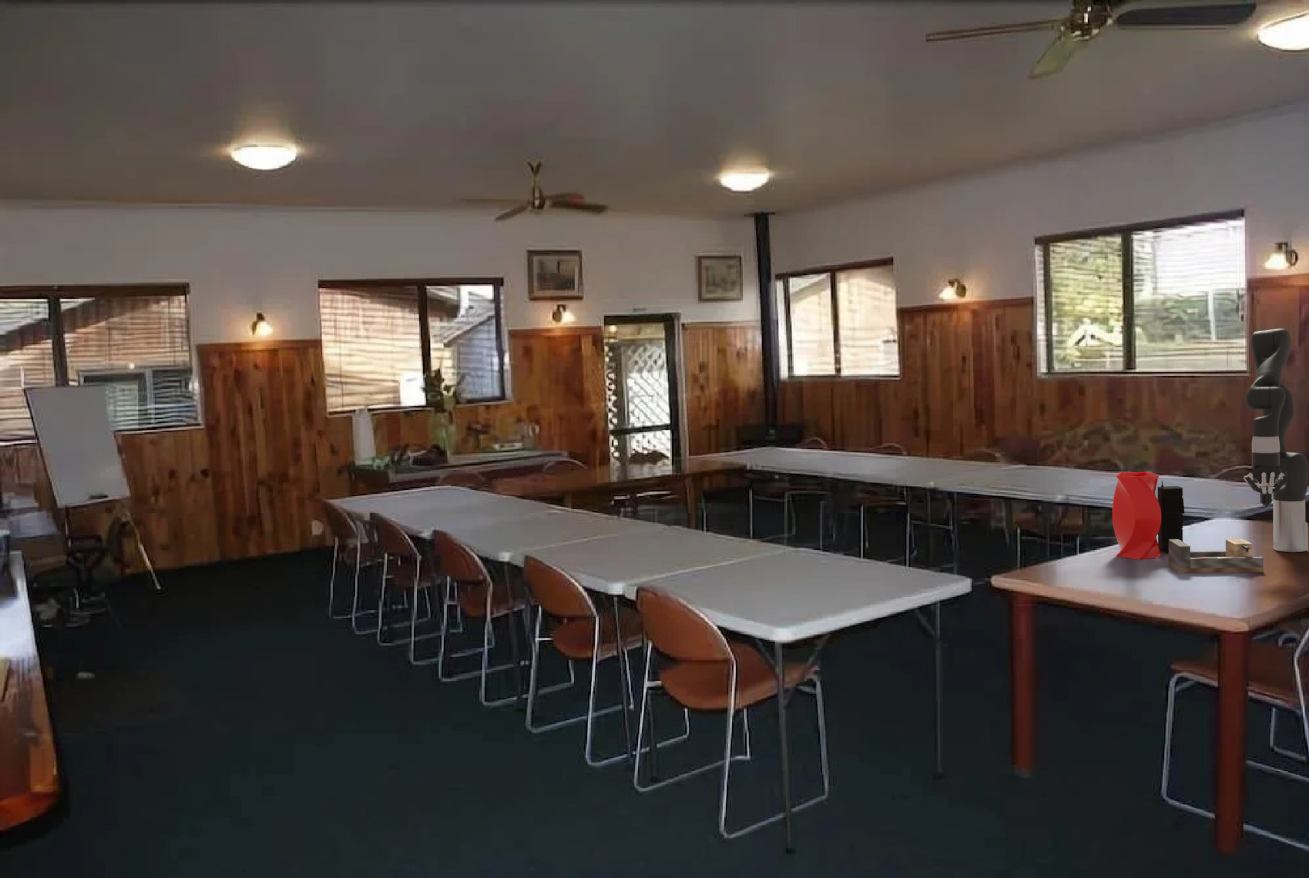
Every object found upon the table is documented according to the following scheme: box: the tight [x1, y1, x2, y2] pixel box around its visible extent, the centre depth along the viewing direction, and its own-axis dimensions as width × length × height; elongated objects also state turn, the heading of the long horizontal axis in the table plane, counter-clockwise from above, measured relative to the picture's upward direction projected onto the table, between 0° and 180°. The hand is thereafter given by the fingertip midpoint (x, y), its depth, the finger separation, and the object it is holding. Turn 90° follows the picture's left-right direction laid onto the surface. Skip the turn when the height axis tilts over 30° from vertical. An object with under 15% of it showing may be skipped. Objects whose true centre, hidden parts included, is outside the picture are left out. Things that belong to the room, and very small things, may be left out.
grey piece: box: [1168, 539, 1264, 574], centre depth 332 cm, size 24×12×8 cm, turn 79°
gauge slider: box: [1225, 538, 1253, 557], centre depth 328 cm, size 5×12×7 cm, turn 169°
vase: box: [1111, 471, 1162, 560], centre depth 357 cm, size 15×14×28 cm
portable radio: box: [1157, 480, 1186, 554], centre depth 359 cm, size 8×6×25 cm
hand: (1265, 505), depth 327 cm, fingers closed
